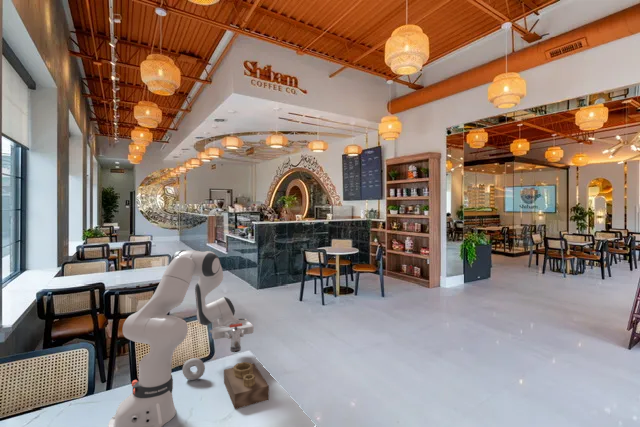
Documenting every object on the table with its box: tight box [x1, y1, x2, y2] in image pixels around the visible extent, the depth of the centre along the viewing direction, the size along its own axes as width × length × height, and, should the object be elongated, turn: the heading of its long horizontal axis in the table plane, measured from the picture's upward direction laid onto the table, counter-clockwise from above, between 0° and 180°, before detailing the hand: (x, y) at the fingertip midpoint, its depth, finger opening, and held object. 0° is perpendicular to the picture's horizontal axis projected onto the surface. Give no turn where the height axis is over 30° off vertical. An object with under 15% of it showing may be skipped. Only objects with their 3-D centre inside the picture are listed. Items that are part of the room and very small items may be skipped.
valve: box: [229, 323, 242, 353], centre depth 158 cm, size 6×5×12 cm
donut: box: [182, 357, 206, 381], centre depth 151 cm, size 10×3×10 cm, turn 97°
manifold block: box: [223, 361, 270, 410], centre depth 142 cm, size 14×22×9 cm, turn 27°
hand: (236, 336), depth 157 cm, fingers closed on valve, 4 cm apart
